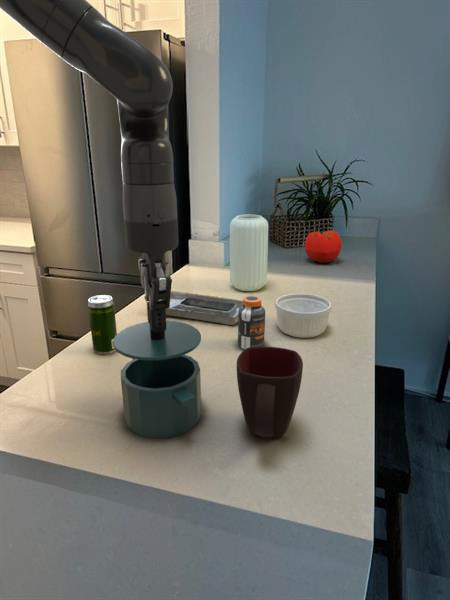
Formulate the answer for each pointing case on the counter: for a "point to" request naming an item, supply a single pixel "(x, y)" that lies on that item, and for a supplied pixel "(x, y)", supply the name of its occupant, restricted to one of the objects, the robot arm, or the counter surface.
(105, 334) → the beer can
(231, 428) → the counter surface
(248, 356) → the cup
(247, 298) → the pill bottle
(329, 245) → the tomato
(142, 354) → the pot lid
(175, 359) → the pot
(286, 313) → the ramekin
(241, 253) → the vase
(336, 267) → the counter surface
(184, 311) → the grey metal tray
